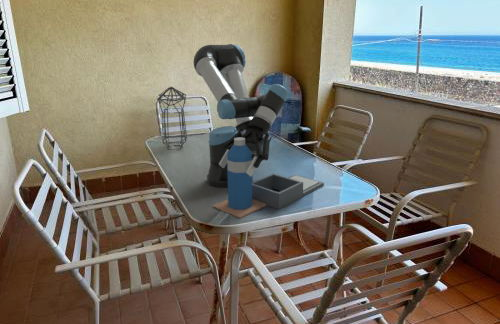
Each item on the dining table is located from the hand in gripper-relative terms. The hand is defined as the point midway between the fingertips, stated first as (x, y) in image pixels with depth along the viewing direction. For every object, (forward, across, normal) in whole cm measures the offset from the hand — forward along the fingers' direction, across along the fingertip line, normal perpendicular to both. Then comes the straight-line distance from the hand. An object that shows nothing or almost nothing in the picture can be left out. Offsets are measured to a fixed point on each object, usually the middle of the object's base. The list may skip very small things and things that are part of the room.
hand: (234, 170), depth 127 cm
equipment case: (-7, -5, -28) cm, 29 cm away
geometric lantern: (-14, +83, -35) cm, 91 cm away
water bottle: (+8, 0, -12) cm, 14 cm away
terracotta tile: (+9, 0, -12) cm, 15 cm away
